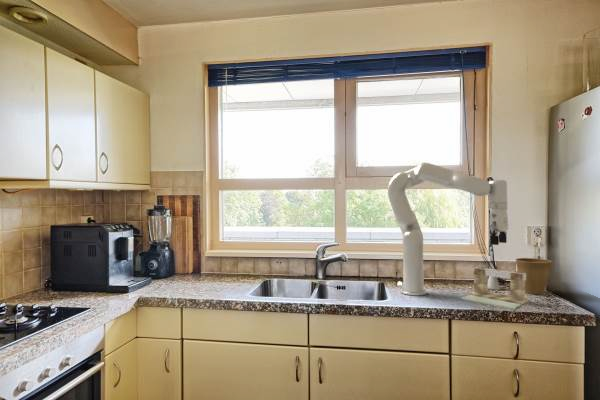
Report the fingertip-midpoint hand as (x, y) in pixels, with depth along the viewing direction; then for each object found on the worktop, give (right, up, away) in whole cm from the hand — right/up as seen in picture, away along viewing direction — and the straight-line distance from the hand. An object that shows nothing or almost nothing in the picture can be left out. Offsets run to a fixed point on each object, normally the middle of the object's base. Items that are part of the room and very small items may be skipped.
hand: (498, 243), depth 173 cm
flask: (+7, -25, +19) cm, 32 cm away
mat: (-7, -25, -7) cm, 27 cm away
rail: (0, -15, 0) cm, 15 cm away
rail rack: (0, -25, 0) cm, 25 cm away
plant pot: (+22, -25, +9) cm, 35 cm away
